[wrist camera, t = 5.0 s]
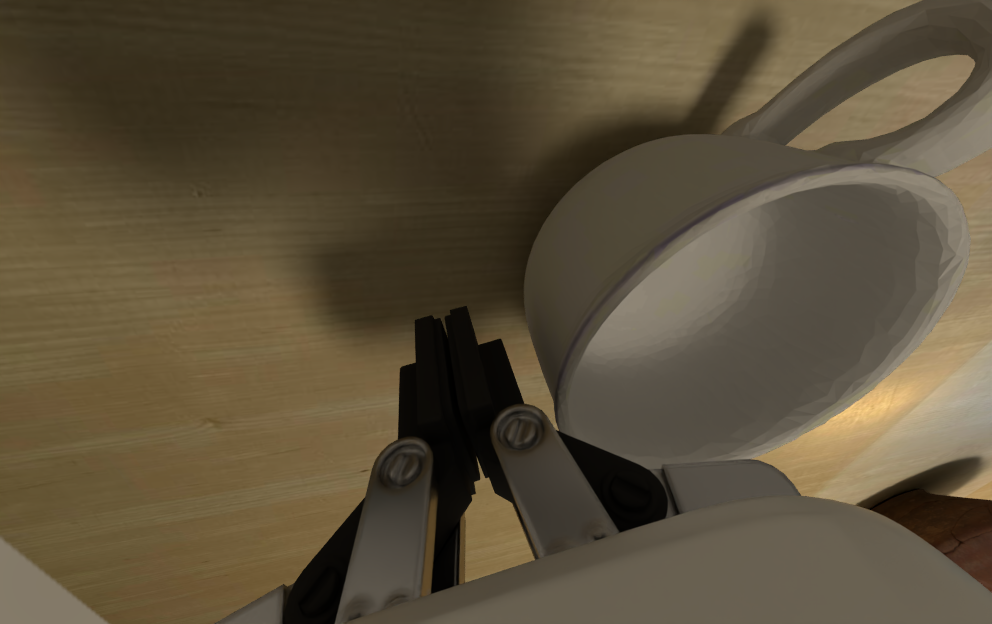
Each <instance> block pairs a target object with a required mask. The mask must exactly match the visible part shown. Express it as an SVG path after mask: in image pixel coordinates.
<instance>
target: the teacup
mask: <svg viewBox="0 0 992 624" xmlns="http://www.w3.org/2000/svg"><path fill="white" fill-rule="evenodd" d="M957 54H958V55H968V56H970V57H971V58H972V59H974V61H975V62H976V63H975V67H974V69H973V71H972V73H971V75H970V77H969V78H968V79H967V81H966V82H965V83H964V84H963V86H962V87H961V88H960V89H959V91H958V92H957V93H956V94H954V95H953V96H952V97H951V98H949V99H948V100H947V101H946V102H944V103H943V104H942V105H940V106H939V107H938V108H937V109H935V110H934V111H933V112H932V113H930V114H929V115H928V116H926V117H925V118H923V119H921V120H919V121H916V122H914V123H912V124H910V125H908V126H906V127H903V128H901V129H899V130H897V131H895V132H891V133H888V134H885V135H881V136H878V137H874V138H871V139H865V140H855V141H844V142H834V143H831V144H829V145H826V146H824V147H822V148H820V149H818V150H809V151H806V150H802V149H797V148H793V147H789V146H785V145H786V144H788V143H789V142H790V141H791V140H792V139H794V138H795V137H796V136H797V135H798V134H800V133H801V132H802V131H803V130H805V129H806V128H807V127H809V126H810V125H811V124H812V123H814V122H815V121H816V120H818V119H819V118H820V117H822V116H823V115H824V114H826V113H827V112H829V111H830V110H832V109H833V108H835V107H836V106H838V105H839V104H841V103H842V102H844V101H845V100H847V99H848V98H850V97H852V96H853V95H855V94H857V93H858V92H860V91H862V90H863V89H865V88H867V87H868V86H870V85H872V84H874V83H876V82H878V81H880V80H882V79H884V78H885V77H887V76H889V75H891V74H893V73H895V72H897V71H899V70H902V69H904V68H907V67H909V66H912V65H914V64H917V63H919V62H922V61H925V60H929V59H932V58H936V57H940V56H948V55H957ZM991 148H992V0H923V1H920V2H918V3H915V4H913V5H910V6H908V7H906V8H903V9H901V10H898V11H896V12H893V13H892V14H890V15H888V16H886V17H884V18H883V19H881V20H879V21H877V22H875V23H874V24H872V25H870V26H868V27H867V28H865V29H864V30H862V31H861V32H859V33H857V34H856V35H854V36H853V37H851V38H850V39H848V40H847V41H845V42H843V43H842V44H840V45H839V46H837V47H836V48H834V49H833V50H831V51H830V52H829V53H827V54H826V55H825V56H824V57H822V58H821V59H820V60H818V61H817V62H816V63H815V64H813V65H812V66H811V67H809V68H808V69H807V70H806V71H804V72H803V73H802V74H800V75H799V76H798V77H797V78H796V79H794V80H793V81H792V82H791V83H790V84H789V85H787V86H786V87H785V88H784V89H783V90H782V91H781V92H779V93H778V94H777V95H776V96H775V97H774V98H772V99H771V100H770V101H769V102H768V103H767V104H765V105H764V106H763V107H762V108H761V109H760V110H758V111H757V112H755V113H753V114H751V115H749V116H747V117H744V118H742V119H740V120H738V121H736V122H735V123H733V124H732V125H731V126H729V127H728V128H727V129H726V130H725V131H724V132H723V133H722V134H721V135H713V134H688V135H679V136H671V137H665V138H661V139H657V140H653V141H649V142H646V143H643V144H640V145H637V146H635V147H633V148H630V149H628V150H626V151H624V152H622V153H620V154H618V155H616V156H614V157H612V158H611V159H609V160H607V161H605V162H604V163H602V164H600V165H599V166H598V167H596V168H595V169H594V170H592V171H591V172H590V173H588V174H587V175H586V176H585V177H583V178H582V179H581V180H580V181H578V182H577V183H576V184H575V185H574V186H573V187H572V188H571V189H570V190H569V191H568V192H567V193H566V194H565V195H564V197H563V198H562V199H561V200H560V201H559V202H558V204H557V205H556V206H555V207H554V209H553V210H552V212H551V213H550V215H549V216H548V218H547V219H546V221H545V222H544V224H543V226H542V228H541V230H540V232H539V234H538V236H537V238H536V240H535V242H534V244H533V247H532V250H531V253H530V256H529V259H528V263H527V267H526V272H525V281H524V307H525V313H526V319H527V324H528V328H529V332H530V335H531V339H532V342H533V345H534V348H535V351H536V354H537V357H538V360H539V363H540V366H541V369H542V372H543V375H544V378H545V380H546V383H547V385H548V388H549V391H550V393H551V396H552V398H553V401H554V411H555V418H556V423H557V426H558V429H559V431H560V432H562V433H565V434H567V435H569V436H572V437H574V438H577V439H579V440H581V441H584V442H586V443H589V444H591V445H594V446H596V447H598V448H601V449H603V450H606V451H608V452H610V453H613V454H615V455H618V456H620V457H623V458H625V459H627V460H630V461H632V462H635V463H637V464H639V465H641V466H643V467H645V468H647V469H660V468H661V467H662V464H677V463H692V462H708V461H723V460H738V459H752V458H755V457H757V456H760V455H762V454H765V453H767V452H770V451H772V450H774V449H777V448H779V447H781V446H783V445H785V444H787V443H789V442H791V441H793V440H795V439H797V438H798V437H800V436H801V435H803V434H805V433H807V432H809V431H811V430H813V429H814V428H816V427H818V426H820V425H823V424H825V423H826V422H827V421H828V420H829V419H830V418H832V417H834V416H836V415H838V414H839V413H841V412H843V411H844V410H845V409H847V408H848V407H849V406H851V405H852V404H854V403H855V402H856V401H858V400H859V399H861V398H862V397H863V396H865V395H866V394H867V393H869V392H870V391H872V390H873V389H874V388H875V387H876V385H877V384H878V383H879V382H881V381H882V380H883V379H885V378H886V377H887V376H888V375H890V374H891V373H892V372H893V371H894V370H895V369H896V368H897V367H898V366H899V365H900V364H901V363H902V362H904V361H905V360H906V359H907V358H908V357H909V356H910V355H911V353H912V352H913V351H914V350H915V349H916V348H917V347H918V346H919V345H920V344H921V343H922V342H923V340H924V339H925V338H926V337H927V336H928V334H929V333H930V332H931V331H932V330H933V328H934V327H935V325H936V324H937V322H938V321H939V319H940V318H941V316H942V315H943V313H944V312H945V311H946V309H947V308H948V306H949V305H950V303H951V302H952V300H953V298H954V296H955V294H956V292H957V289H958V287H959V285H960V283H961V281H962V278H963V276H964V273H965V270H966V268H967V265H968V259H969V251H970V240H971V238H970V233H969V228H968V223H967V218H966V216H965V213H964V210H963V206H962V204H961V203H960V201H959V199H958V198H957V196H956V195H955V194H954V193H953V191H952V190H951V189H950V188H948V187H947V186H946V185H944V184H943V183H942V182H940V181H939V180H938V179H936V178H934V177H936V176H939V175H941V174H943V173H946V172H948V171H950V170H952V169H954V168H956V167H958V166H960V165H961V164H963V163H965V162H967V161H969V160H971V159H972V158H974V157H976V156H978V155H980V154H982V153H984V152H985V151H987V150H989V149H991Z"/></svg>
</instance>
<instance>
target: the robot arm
mask: <svg viewBox="0 0 992 624" xmlns="http://www.w3.org/2000/svg"><path fill="white" fill-rule="evenodd" d="M450 314H451V315H448V316H445V323H446V329H447V335H446V332H445V329H444V326H443V323H442V321H441V318H437V319H434V317H433V315H430V316H427V317H423V318H420V319H416V320H415V349H416V363H413V364H409V365H406V366H402V367H401V368H400V384H399V422H398V440H396V441H394V442H393V443H391V444H389V445H388V446H387V447H386V448H385V449H384V450H383V451H382V452H381V453H380V454H379V456H378V457H377V459H376V460H375V463H374V465H373V468H372V471H371V476H370V480H369V484H368V488H367V492H366V496H365V498H364V499H363V500H362V501H361V503H360V504H359V505H358V506H357V507H356V509H355V510H354V511H353V512H352V513H351V514H350V516H349V517H348V518H347V519H346V520H345V522H344V523H343V524H342V525H341V526H340V527H339V529H338V530H337V531H336V532H335V533H334V535H333V536H332V537H331V538H330V539H329V540H328V542H327V543H326V544H325V545H324V546H323V548H322V549H321V550H320V551H319V552H318V554H317V555H316V556H315V557H314V558H313V559H312V561H311V562H310V563H309V564H308V565H307V567H306V568H305V569H304V570H303V571H302V573H301V574H300V576H299V577H298V579H297V580H296V581H295V583H294V584H292V585H290V586H288V587H287V586H286V585H284V584H283V585H281V586H279V587H278V588H276V589H274V590H272V591H271V592H269V593H267V594H265V595H264V596H262V597H260V598H258V599H257V600H255V601H253V602H251V603H250V604H248V605H246V606H244V607H243V608H241V609H239V610H237V611H236V612H234V613H232V614H230V615H229V616H227V617H225V618H223V619H222V620H220V621H218V622H216V623H215V624H992V593H991V592H990V591H989V590H988V589H987V588H985V587H984V586H983V585H982V584H981V583H979V582H978V581H977V580H976V579H974V578H973V577H972V576H970V575H969V574H968V573H967V572H965V571H964V570H963V569H962V568H960V567H959V566H958V565H956V564H955V563H954V562H953V561H951V560H950V559H949V558H948V557H946V556H945V555H944V554H943V553H941V552H940V551H939V550H937V549H936V548H934V547H933V546H932V545H930V544H929V543H927V542H926V541H925V540H923V539H922V538H920V537H919V536H917V535H916V534H914V533H913V532H911V531H910V530H908V529H907V528H905V527H903V526H902V525H900V524H898V523H896V522H894V521H893V520H891V519H889V518H887V517H885V516H883V515H881V514H879V513H876V512H874V511H871V510H868V509H865V508H862V507H859V506H856V505H852V504H848V503H843V502H839V501H835V500H830V499H822V498H815V497H808V496H801V495H800V493H799V492H798V490H797V489H796V487H795V486H794V484H793V483H792V482H791V481H790V480H789V479H788V478H787V476H786V475H785V474H784V473H782V472H781V471H779V470H778V469H776V468H775V467H773V466H772V465H769V464H767V463H764V462H762V461H759V460H751V459H738V460H723V461H708V462H692V463H677V464H662V467H661V468H660V469H647V468H645V467H643V466H641V465H639V464H637V463H635V462H632V461H630V460H627V459H625V458H623V457H620V456H618V455H615V454H613V453H610V452H608V451H606V450H603V449H601V448H598V447H596V446H594V445H591V444H589V443H586V442H584V441H581V440H579V439H577V438H574V437H572V436H569V435H567V434H565V433H562V432H560V431H557V430H555V428H554V427H553V425H552V423H551V422H550V420H549V419H548V417H547V416H546V415H545V413H544V412H543V411H542V410H540V409H539V408H537V407H535V406H533V405H528V404H524V401H523V399H522V396H521V393H520V390H519V387H518V385H517V382H516V379H515V376H514V373H513V371H512V368H511V365H510V362H509V359H508V356H507V354H506V351H505V348H504V345H503V342H502V340H501V339H497V340H494V341H490V342H487V343H483V344H480V345H478V343H477V339H476V336H475V333H474V329H473V326H472V322H471V319H470V315H469V312H468V308H467V306H463V307H460V308H456V309H452V310H450ZM447 336H448V338H447ZM476 456H477V457H476ZM477 458H478V461H479V463H480V466H481V468H482V471H483V473H484V476H485V478H488V477H489V478H490V481H491V484H492V486H493V489H494V492H495V493H496V494H497V495H499V496H501V497H503V498H504V499H506V500H508V501H510V502H511V503H512V504H513V507H514V509H515V512H516V514H517V517H518V519H519V522H520V524H521V527H522V529H523V531H524V534H525V536H526V539H527V541H528V544H529V546H530V549H531V551H532V554H533V556H534V559H535V560H534V561H531V562H528V563H525V564H522V565H518V566H515V567H512V568H509V569H506V570H503V571H500V572H497V573H494V574H491V575H488V576H485V577H482V578H479V579H475V580H472V581H469V582H466V583H465V532H466V520H465V513H464V512H465V511H466V509H467V507H468V506H469V504H470V503H471V501H472V496H471V495H473V494H476V492H475V485H474V482H475V481H478V480H480V473H479V468H478V462H477Z"/></svg>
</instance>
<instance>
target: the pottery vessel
mask: <svg viewBox="0 0 992 624" xmlns="http://www.w3.org/2000/svg"><path fill="white" fill-rule="evenodd" d="M871 511H874V512H876V513H879V514H881V515H883V516H885V517H887V518H889V519H891V520H893V521H894V522H896V523H898V524H900V525H902V526H903V527H905V528H907V529H908V530H910V531H911V532H913V533H914V534H916V535H917V536H919V537H920V538H922V539H923V540H925V541H926V542H927V543H929V544H930V545H932V546H933V547H934V548H936V549H937V550H939V551H940V552H941V553H943V554H944V555H945V556H946V557H948V558H949V559H950V560H951V561H953V562H954V563H955V564H956V565H958V566H959V567H960V568H962V569H963V570H964V571H965V572H967V573H968V574H969V575H970V576H972V577H973V578H974V579H976V580H977V581H978V582H979V583H981V584H982V585H983V586H984V587H985V588H987V589H988V590H989V591H990V592H991V593H992V500H983V499H972V498H962V497H953V496H943V495H935V494H930V493H927V492H926V491H925V490H922V489H919V490H914V491H911V492H907V493H904V494H902V495H899V496H896V497H894V498H892V499H889V500H888V501H886V502H884V503H882V504H880V505H878V506H877V507H875V508H873V509H872V510H871Z"/></svg>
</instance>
